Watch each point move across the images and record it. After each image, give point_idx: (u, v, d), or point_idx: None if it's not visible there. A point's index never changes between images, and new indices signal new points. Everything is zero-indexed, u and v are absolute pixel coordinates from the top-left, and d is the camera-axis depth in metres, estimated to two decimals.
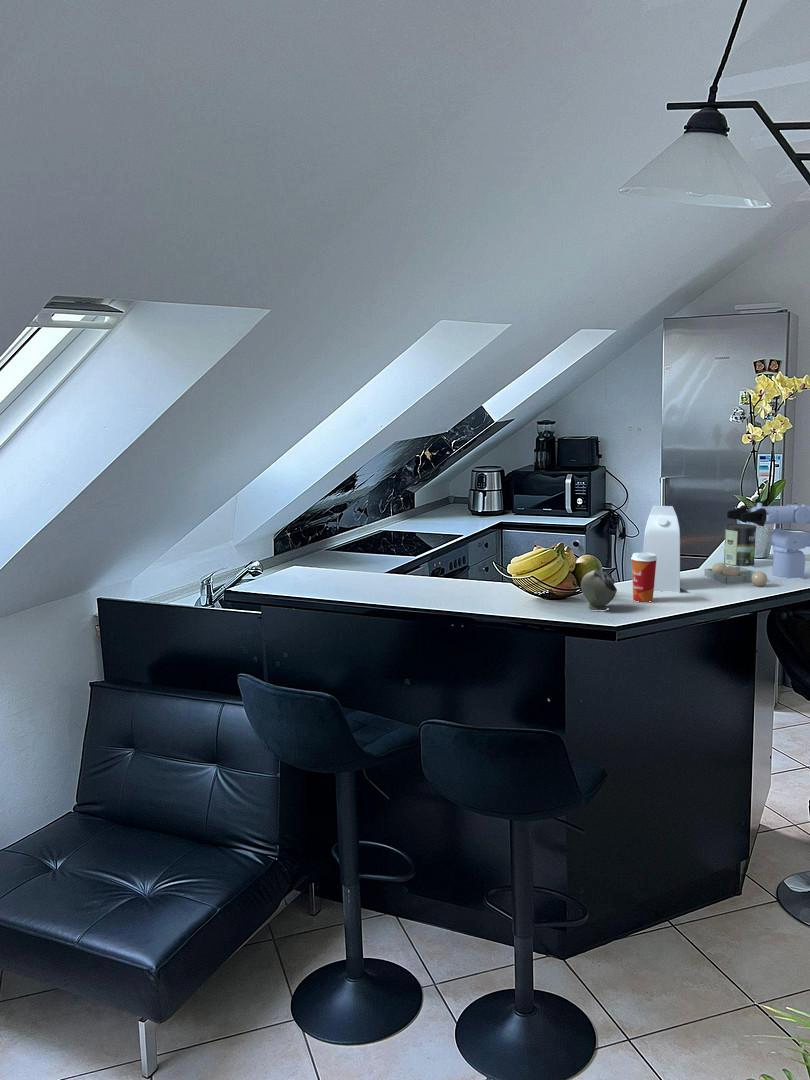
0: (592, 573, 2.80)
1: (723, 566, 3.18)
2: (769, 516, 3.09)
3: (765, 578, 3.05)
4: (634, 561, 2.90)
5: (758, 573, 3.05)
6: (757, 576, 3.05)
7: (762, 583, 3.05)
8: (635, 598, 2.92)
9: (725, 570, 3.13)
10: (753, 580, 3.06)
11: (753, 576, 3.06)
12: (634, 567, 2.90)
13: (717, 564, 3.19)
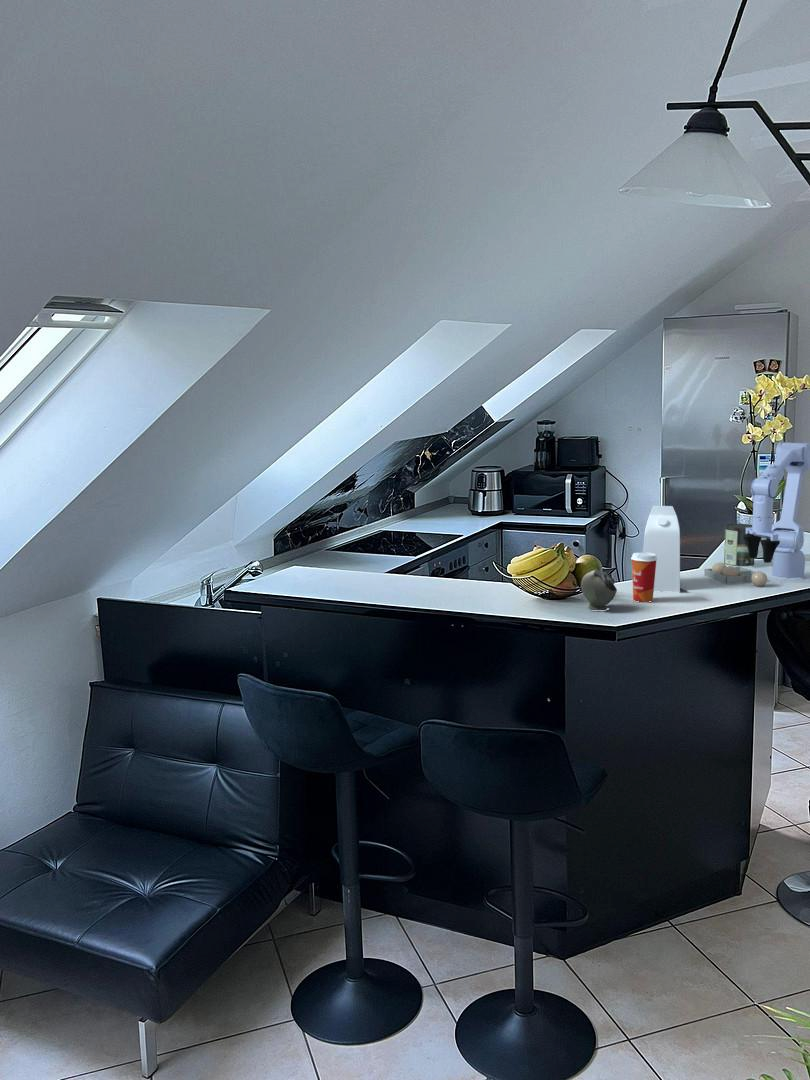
0: (592, 573, 2.80)
1: (723, 566, 3.18)
2: (773, 539, 2.97)
3: (765, 578, 3.05)
4: (634, 561, 2.90)
5: (758, 573, 3.05)
6: (757, 576, 3.05)
7: (762, 583, 3.05)
8: (635, 598, 2.92)
9: (725, 570, 3.13)
10: (753, 580, 3.06)
11: (753, 576, 3.06)
12: (634, 567, 2.90)
13: (717, 564, 3.19)
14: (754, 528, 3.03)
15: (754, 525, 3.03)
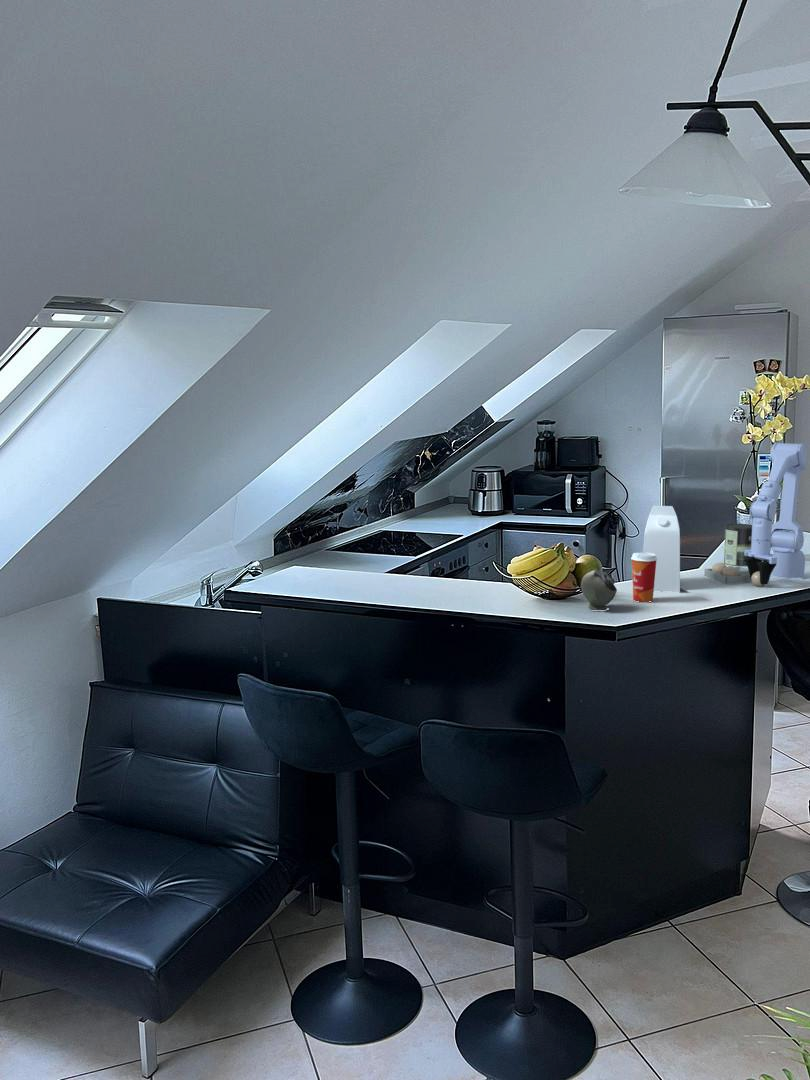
0: (592, 573, 2.80)
1: (723, 566, 3.18)
2: (772, 562, 2.99)
3: None
4: (634, 561, 2.90)
5: (758, 573, 3.05)
6: (757, 576, 3.05)
7: None
8: (635, 598, 2.92)
9: (725, 570, 3.13)
10: (753, 580, 3.06)
11: (753, 576, 3.06)
12: (634, 567, 2.90)
13: (717, 564, 3.19)
14: (753, 551, 3.04)
15: (753, 548, 3.04)
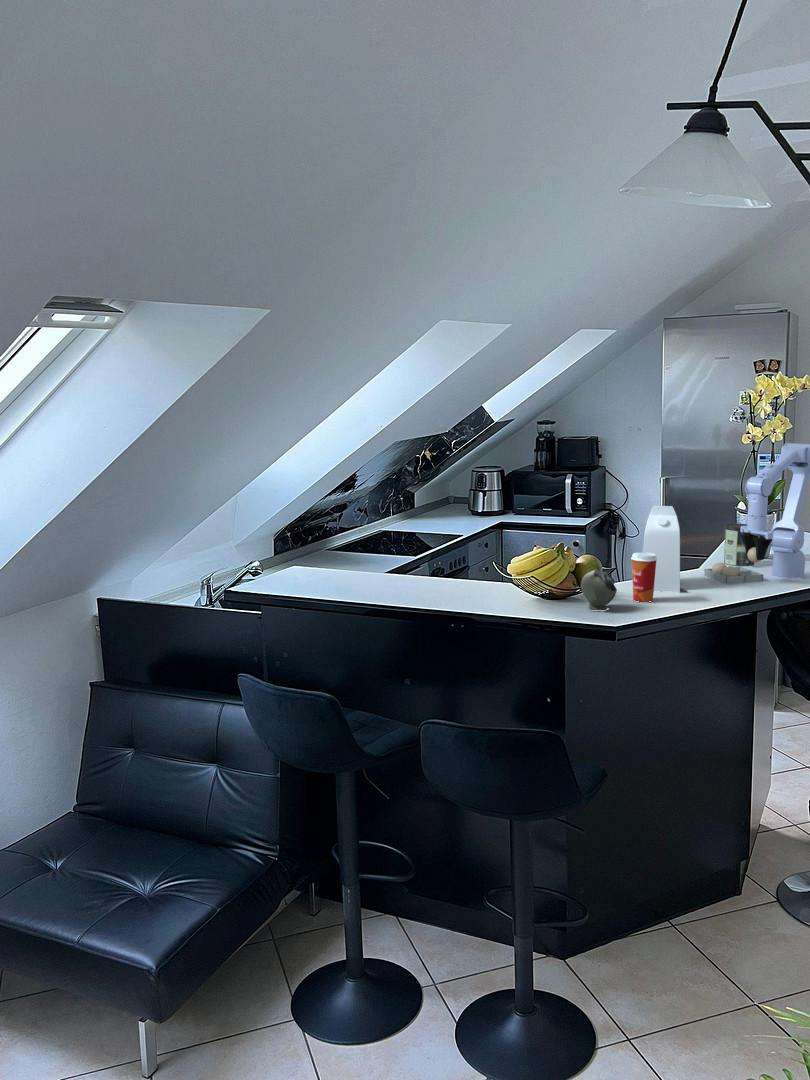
0: (592, 573, 2.80)
1: (723, 566, 3.18)
2: (768, 538, 3.02)
3: None
4: (634, 561, 2.90)
5: (754, 549, 3.08)
6: (753, 552, 3.08)
7: None
8: (635, 598, 2.92)
9: (725, 570, 3.13)
10: (749, 556, 3.09)
11: (749, 552, 3.09)
12: (634, 567, 2.90)
13: (717, 564, 3.19)
14: (749, 527, 3.07)
15: (749, 524, 3.07)
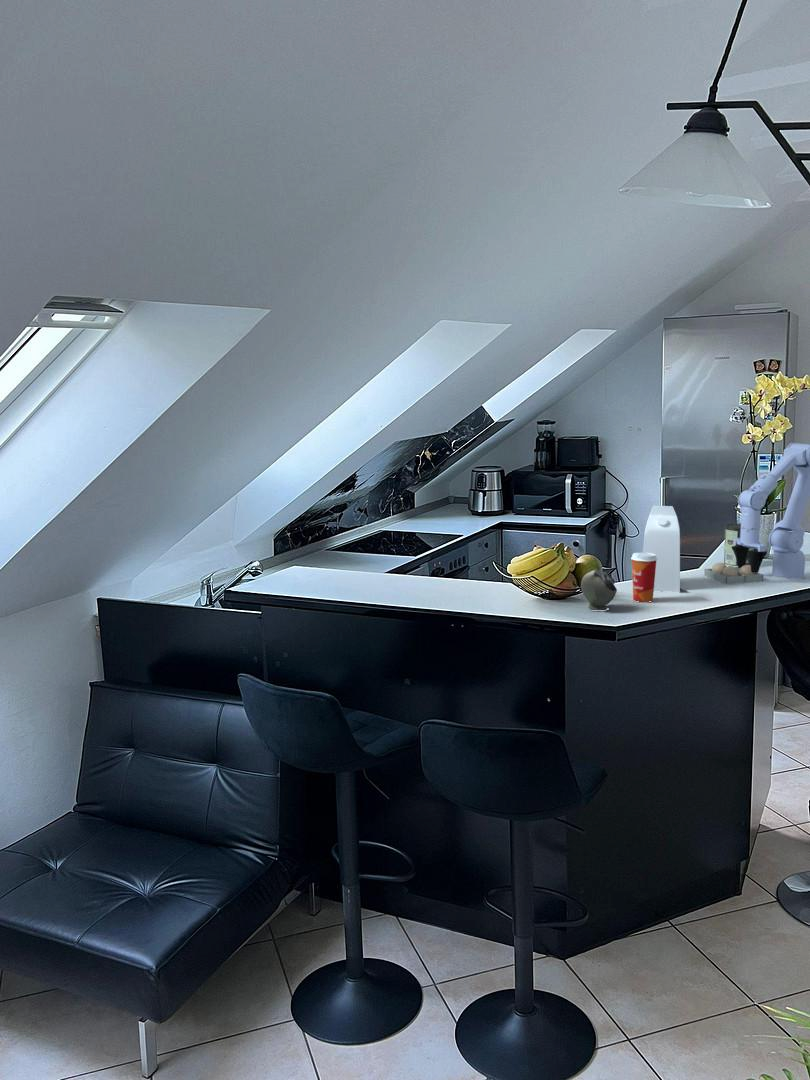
0: (592, 573, 2.80)
1: (723, 566, 3.18)
2: (760, 550, 3.07)
3: None
4: (634, 561, 2.90)
5: (745, 566, 3.15)
6: (744, 569, 3.14)
7: None
8: (635, 598, 2.92)
9: (725, 570, 3.13)
10: (741, 573, 3.15)
11: (741, 569, 3.15)
12: (634, 567, 2.90)
13: (717, 564, 3.19)
14: (742, 539, 3.13)
15: (742, 536, 3.13)
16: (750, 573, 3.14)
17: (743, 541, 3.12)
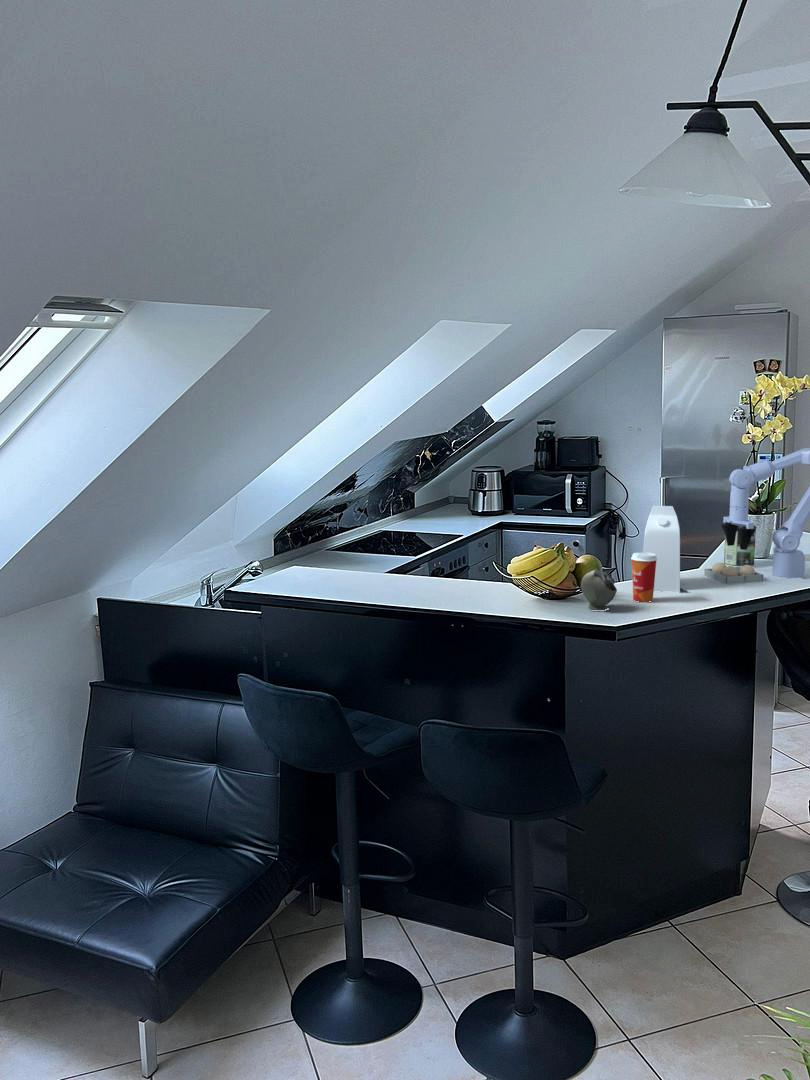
0: (592, 573, 2.80)
1: (723, 566, 3.18)
2: (749, 527, 3.14)
3: (752, 570, 3.14)
4: (634, 561, 2.90)
5: (745, 566, 3.15)
6: (744, 568, 3.14)
7: None
8: (635, 598, 2.92)
9: (725, 570, 3.13)
10: (741, 573, 3.15)
11: (741, 569, 3.15)
12: (634, 567, 2.90)
13: (717, 564, 3.19)
14: (731, 517, 3.20)
15: (731, 514, 3.20)
16: (750, 573, 3.14)
17: (732, 519, 3.19)
